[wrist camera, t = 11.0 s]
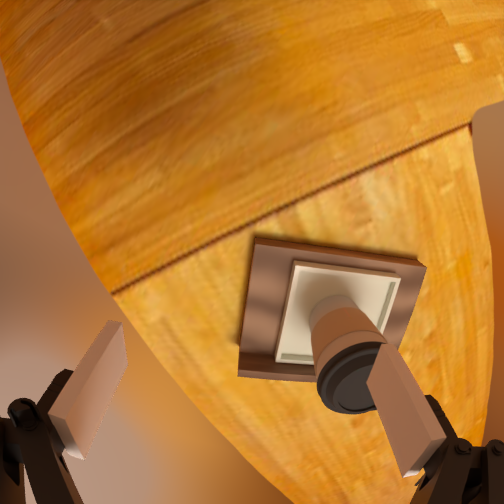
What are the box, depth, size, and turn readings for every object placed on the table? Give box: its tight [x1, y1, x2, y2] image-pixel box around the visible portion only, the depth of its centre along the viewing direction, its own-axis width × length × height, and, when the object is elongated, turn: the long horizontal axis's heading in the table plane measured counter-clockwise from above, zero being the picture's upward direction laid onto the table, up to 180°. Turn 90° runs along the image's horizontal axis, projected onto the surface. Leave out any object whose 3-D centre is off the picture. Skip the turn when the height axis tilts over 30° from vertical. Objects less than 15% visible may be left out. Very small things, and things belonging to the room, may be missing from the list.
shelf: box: [238, 237, 427, 382], centre depth 41 cm, size 17×24×7 cm
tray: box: [274, 260, 401, 365], centre depth 41 cm, size 14×14×2 cm
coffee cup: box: [309, 295, 389, 414], centre depth 34 cm, size 9×9×15 cm
